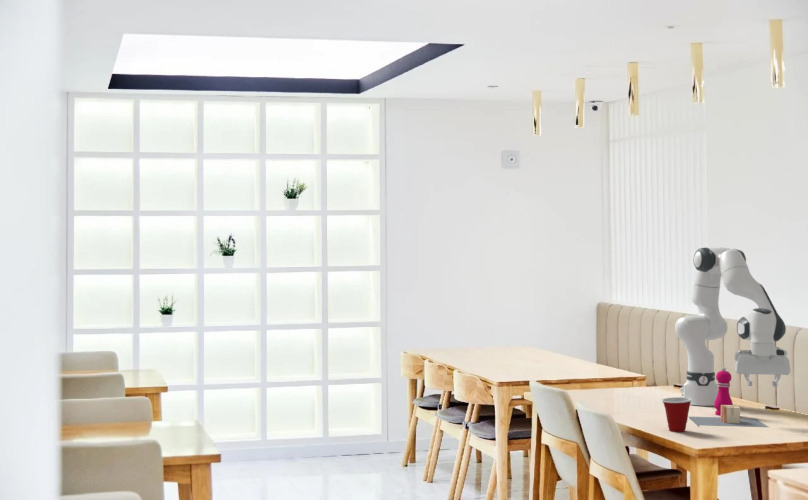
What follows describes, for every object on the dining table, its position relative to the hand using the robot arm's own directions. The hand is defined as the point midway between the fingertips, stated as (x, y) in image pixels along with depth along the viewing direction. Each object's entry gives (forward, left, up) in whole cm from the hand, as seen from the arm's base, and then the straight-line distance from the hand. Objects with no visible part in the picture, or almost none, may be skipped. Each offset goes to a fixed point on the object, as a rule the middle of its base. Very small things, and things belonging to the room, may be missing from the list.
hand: (762, 386), depth 373 cm
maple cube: (0, -9, -11) cm, 14 cm away
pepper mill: (-17, -11, -15) cm, 25 cm away
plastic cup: (+21, -36, -15) cm, 44 cm away
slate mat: (0, -13, -15) cm, 20 cm away
